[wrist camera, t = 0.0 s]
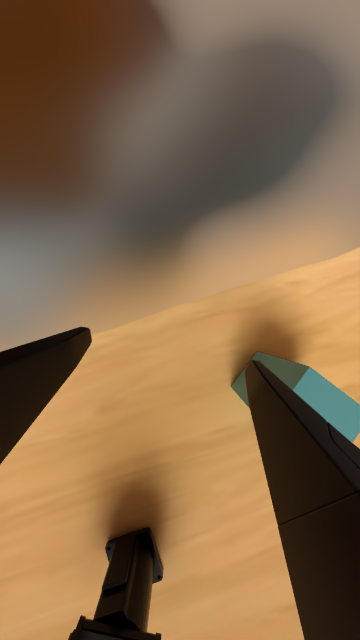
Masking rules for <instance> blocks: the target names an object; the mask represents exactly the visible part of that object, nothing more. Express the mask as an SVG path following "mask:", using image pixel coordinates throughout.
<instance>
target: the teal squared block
mask: <svg viewBox="0 0 360 640" xmlns="http://www.w3.org/2000/svg"><path fill="white" fill-rule="evenodd" d="M252 359H253V360H258V361H260V362H261V363H262V364H264V365H265V366H266V367H267V368H268V369H269V370H270V371H271V372H273V373H274V374H275V375H276V376H277V377H278V378H279V379H280V380H282V381H283V382H284V383H285V384H286V385H287V386H288V387H290V388H291V389H292V390H293V391H294V392H295V393H296V394H297V395H299V396H300V397H301V398H302V399H303V400H304V401H305V402H306V403H308V404H309V405H310V406H311V407H312V408H313V409H314V410H315V411H317V412H318V413H319V414H320V415H321V416H322V417H323V418H324V419H326V421H327V422H329V423H330V424H331V425H332V426H334V427H335V428H336V429H337V430H338V431H339V432H340V433H341V434H343V435H344V436H345V437H346V438H347V439H348V440H350V441H351V442H352V443H353V441H354V440H355V438H356V437H357V435H358V434H359V433H360V405H359V404H358V403H357V402H356V401H354V400H353V399H352V398H350V397H349V396H348V395H346V394H345V393H344V392H342V391H341V390H340V389H338V388H337V387H336V386H334V385H333V384H332V383H331V382H329V381H328V380H327V379H325V378H324V377H323V376H321V375H320V374H319V373H317V372H316V371H315V370H313V369H312V368H311V367H309V366H306V365H302V364H299V363H295V362H292V361H288V360H285V359H282V358H278V357H275V356H271V355H268V354H264V353H261V352H258V351H257V352H256V354H255V355H254V356H253V358H252ZM252 359H251V360H252ZM247 365H248V364H247ZM246 367H247V366H246ZM246 367H245V368H244V370H243V371H242V372H241V374H240V375H239V376H238V378H237V379H236V380H235V382H234V383H233V384H232V386H231V387H232V388H233V390H234V391H235V392H236V393H237V394H238V395H239V397H240V398H241V399H242V400H243V401H244V402H245V404H246V405H247V406H248V407H249V402H248V396H247V388H246V380H245V369H246ZM249 408H250V407H249Z"/></svg>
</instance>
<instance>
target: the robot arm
mask: <svg viewBox="0 0 360 640" xmlns="http://www.w3.org/2000/svg"><path fill="white" fill-rule="evenodd" d="M91 342H92V339H91V333H90V329H89V328H86V327H79V328H75V329H72V330H69V331H66V332H63V333H59V334H56V335H53V336H50V337H47V338H44V339H40V340H37V341H34V342H31V343H27V344H24V345H21V346H18V347H15V348H12V349H9V350H5V351H2V352H0V464H1V463H2V462H3V460H4V459H5V458H6V457H7V455H8V454H9V453H10V451H11V450H12V449H13V448H14V446H15V445H16V444H17V442H18V441H19V440H20V439H21V437H22V436H23V435H24V433H25V432H26V431H27V430H28V428H29V427H30V426H31V425H32V423H33V422H34V421H35V419H36V418H37V417H38V416H39V414H40V413H41V412H42V410H43V409H44V408H45V407H46V405H47V404H48V403H49V401H50V400H51V399H52V398H53V396H54V395H55V394H56V392H57V391H58V390H59V389H60V387H61V386H62V385H63V383H64V382H65V381H66V380H67V378H68V377H69V376H70V375H71V373H72V372H73V371H74V369H75V368H76V367H77V365H78V364H79V362H80V360H81V359H82V357H83V356H84V354H85V352H86V351H87V349H88V348H89V346H90V344H91ZM245 380H246V388H247V396H248V402H249V407H250V411H251V415H252V419H253V423H254V428H255V432H256V436H257V440H258V445H259V449H260V453H261V457H262V461H263V466H264V470H265V474H266V478H267V482H268V487H269V491H270V495H271V499H272V504H273V508H274V512H275V516H276V520H277V524H278V529H279V534H280V538H281V542H282V546H283V550H284V555H285V559H286V563H287V567H288V572H289V576H290V580H291V584H292V588H293V593H294V597H295V601H296V605H297V609H298V614H299V618H300V622H301V626H302V630H303V635H304V639H305V640H360V449H359V448H358V447H357V446H355V445H354V444H353V443H352V442H351V441H350V440H348V439H347V438H346V437H345V436H344V435H343V434H341V433H340V432H339V431H338V430H337V429H336V428H335V427H334V426H332V425H331V424H330V423H329V422H327V421H326V419H324V418H323V417H322V416H321V415H320V414H319V413H318V412H317V411H315V410H314V409H313V408H312V407H311V406H310V405H309V404H308V403H306V402H305V401H304V400H303V399H302V398H301V397H300V396H299V395H297V394H296V393H295V392H294V391H293V390H292V389H291V388H290V387H288V386H287V385H286V384H285V383H284V382H283V381H282V380H280V379H279V378H278V377H277V376H276V375H275V374H274V373H273V372H271V371H270V370H269V369H268V368H267V367H266V366H265V365H264V364H262V363H261V362H260V361H258V360H253V359H252V360H250V362H249V363H248V365H247V367H246V369H245ZM147 533H148V534H147ZM105 550H106V554H107V557H108V561H109V566H108V569H107V572H106V576H105V579H104V582H103V586H102V592H101V595H100V599H99V602H98V605H97V608H96V612H95V615H94V618H93V620H91V619H86V616H82V615H81V617H80V619H79V622H78V624H77V627H76V629H74V631H73V632H72V633H71V634H70V636H69V639H68V640H161V634H160V633H156V634H152V633H148V632H147V626H148V617H149V609H150V600H151V591H152V584H153V583H156V582H159V581H161V580H162V578H163V570H162V567H161V563H160V560H159V556H158V553H157V549H156V546H155V542H154V539H153V536H152V532H151V529H150V528H145V529H142V530H139V531H136V532H133V533H130V534H127V535H124V536H121V537H118V538H115V539H112V540H110V541H108V542H107V544H106V547H105Z"/></svg>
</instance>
